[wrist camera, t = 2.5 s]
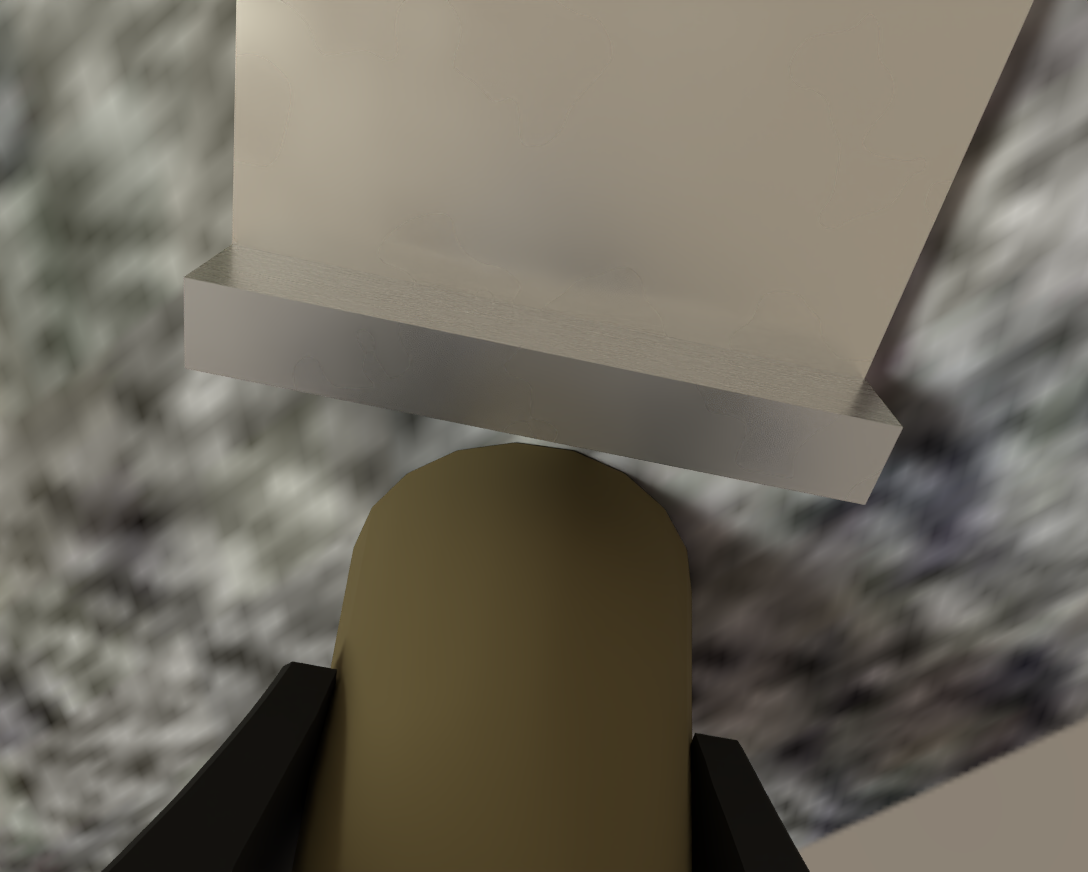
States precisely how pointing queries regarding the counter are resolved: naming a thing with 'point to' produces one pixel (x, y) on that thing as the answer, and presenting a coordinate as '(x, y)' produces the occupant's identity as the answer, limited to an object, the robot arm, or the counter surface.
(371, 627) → the brown rounded piece
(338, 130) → the bottom track
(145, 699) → the counter surface
